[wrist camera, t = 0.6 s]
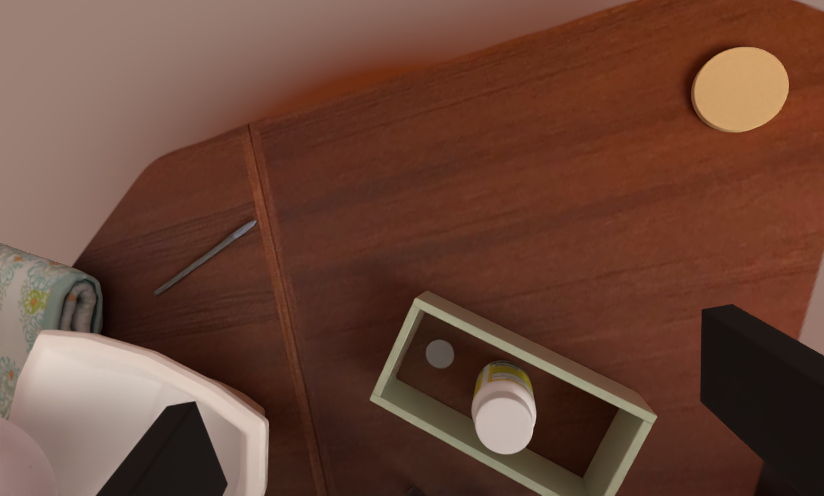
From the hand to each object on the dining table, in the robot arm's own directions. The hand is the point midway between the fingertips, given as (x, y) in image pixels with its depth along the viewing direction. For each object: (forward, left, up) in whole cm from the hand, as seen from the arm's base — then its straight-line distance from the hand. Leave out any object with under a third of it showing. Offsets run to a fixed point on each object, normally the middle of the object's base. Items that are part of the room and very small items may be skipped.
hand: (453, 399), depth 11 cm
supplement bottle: (-5, +7, -28) cm, 29 cm away
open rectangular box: (-5, +7, -28) cm, 29 cm away
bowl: (+20, +27, -28) cm, 43 cm away
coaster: (-11, -22, -28) cm, 37 cm away
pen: (+31, +16, -27) cm, 44 cm away
